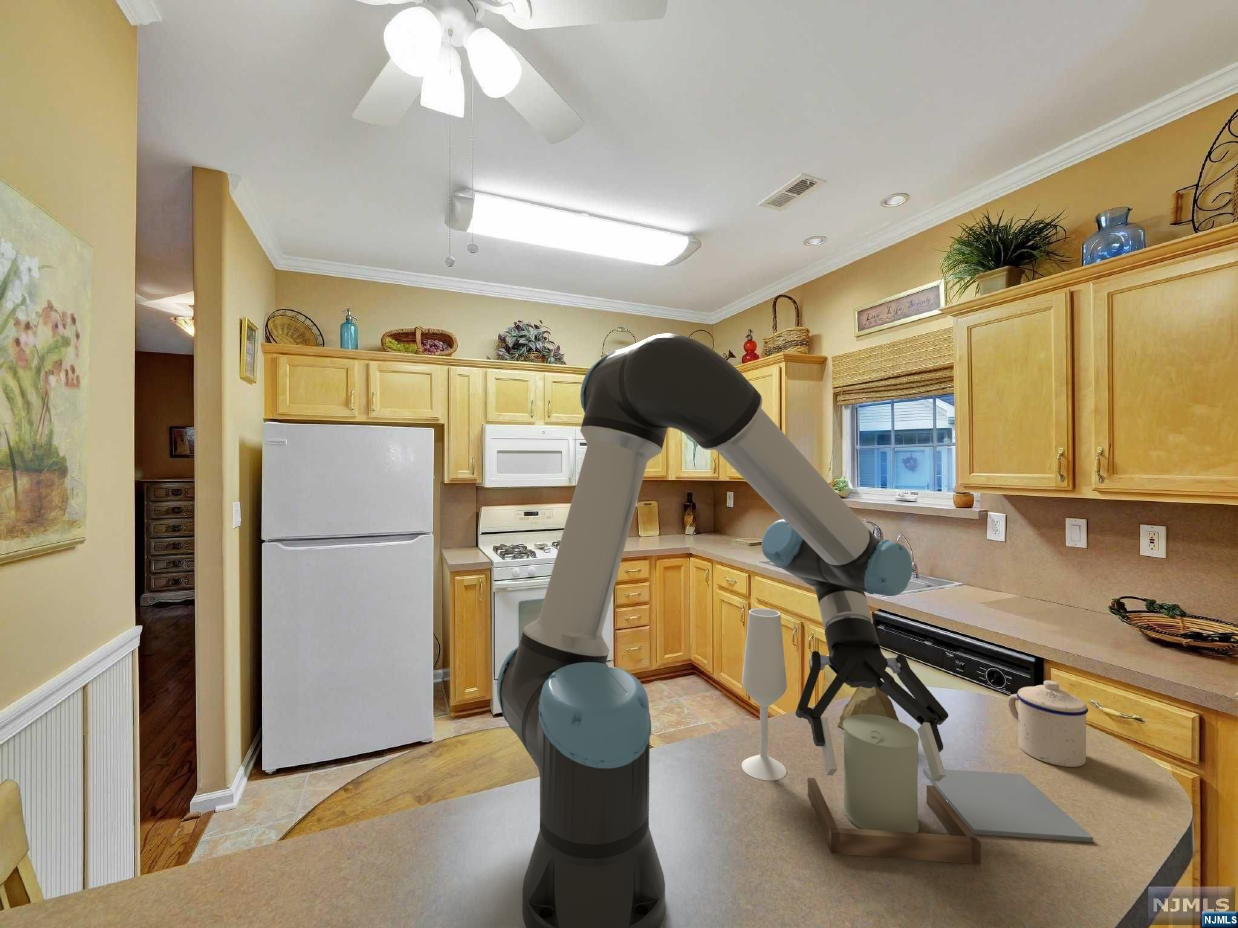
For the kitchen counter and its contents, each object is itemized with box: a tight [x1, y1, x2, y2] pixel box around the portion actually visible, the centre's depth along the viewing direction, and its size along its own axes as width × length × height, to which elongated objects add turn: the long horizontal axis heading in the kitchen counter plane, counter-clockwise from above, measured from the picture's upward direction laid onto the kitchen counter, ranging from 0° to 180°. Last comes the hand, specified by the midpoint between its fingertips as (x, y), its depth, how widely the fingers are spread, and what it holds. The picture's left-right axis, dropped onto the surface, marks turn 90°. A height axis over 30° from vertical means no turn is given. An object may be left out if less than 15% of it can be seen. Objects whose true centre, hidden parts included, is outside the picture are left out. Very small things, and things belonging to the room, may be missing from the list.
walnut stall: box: [807, 777, 982, 865], centre depth 70 cm, size 17×12×2 cm
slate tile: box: [922, 767, 1094, 843], centre depth 75 cm, size 14×14×1 cm
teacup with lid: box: [1007, 679, 1089, 768], centre depth 90 cm, size 12×9×12 cm
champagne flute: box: [741, 607, 788, 782], centre depth 84 cm, size 7×7×24 cm
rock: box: [836, 686, 900, 730], centre depth 93 cm, size 11×9×10 cm
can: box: [841, 714, 920, 833], centre depth 72 cm, size 9×9×12 cm
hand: (885, 775), depth 71 cm, fingers open, 13 cm apart
